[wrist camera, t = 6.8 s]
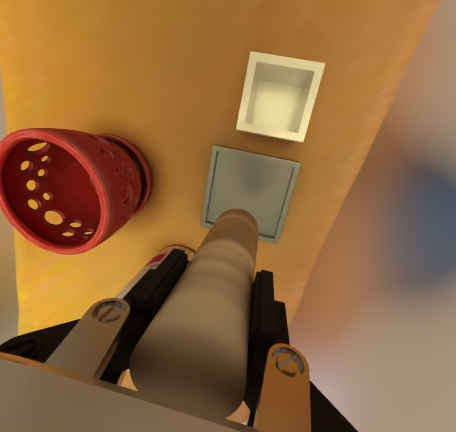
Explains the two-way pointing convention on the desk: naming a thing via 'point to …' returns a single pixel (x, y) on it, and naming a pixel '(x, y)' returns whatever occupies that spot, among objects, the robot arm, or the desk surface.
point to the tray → (250, 188)
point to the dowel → (204, 324)
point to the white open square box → (278, 96)
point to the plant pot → (71, 186)
